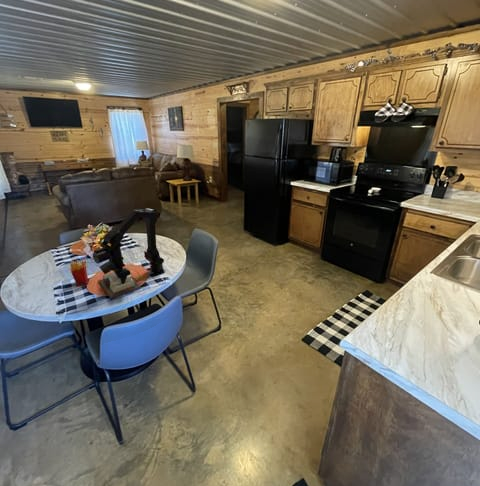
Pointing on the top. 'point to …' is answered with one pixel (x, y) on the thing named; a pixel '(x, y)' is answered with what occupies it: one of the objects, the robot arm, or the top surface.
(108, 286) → the walnut board
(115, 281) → the cream book
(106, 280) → the grey rectangular block
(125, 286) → the cream books
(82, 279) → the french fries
